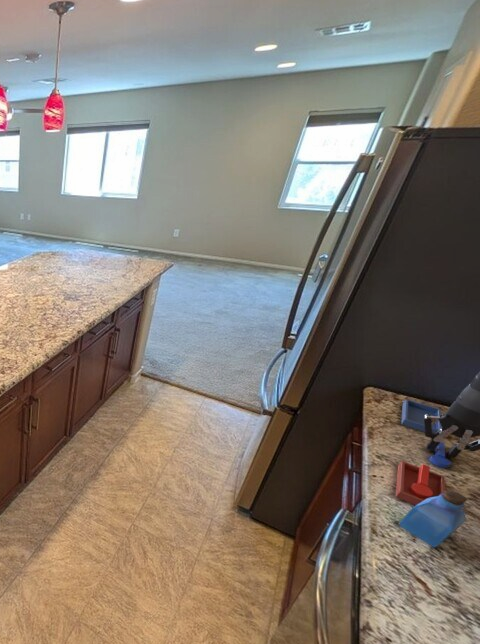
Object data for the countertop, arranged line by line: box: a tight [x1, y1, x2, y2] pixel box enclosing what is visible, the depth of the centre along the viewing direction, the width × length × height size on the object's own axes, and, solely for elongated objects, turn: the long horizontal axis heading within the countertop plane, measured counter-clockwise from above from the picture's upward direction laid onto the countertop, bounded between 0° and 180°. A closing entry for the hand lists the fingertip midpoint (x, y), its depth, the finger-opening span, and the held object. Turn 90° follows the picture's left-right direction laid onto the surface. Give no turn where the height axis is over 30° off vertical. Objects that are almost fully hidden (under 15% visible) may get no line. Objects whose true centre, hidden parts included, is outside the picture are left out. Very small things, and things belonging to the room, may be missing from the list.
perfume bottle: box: [397, 489, 468, 548], centre depth 84 cm, size 6×6×12 cm
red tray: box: [395, 460, 446, 506], centre depth 97 cm, size 14×8×2 cm, turn 134°
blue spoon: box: [429, 441, 452, 469], centre depth 106 cm, size 11×4×2 cm, turn 135°
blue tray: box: [400, 398, 442, 433], centre depth 119 cm, size 14×8×2 cm, turn 134°
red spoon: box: [410, 463, 433, 499], centre depth 97 cm, size 11×4×2 cm, turn 134°
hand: (438, 453), depth 107 cm, fingers open, 3 cm apart
